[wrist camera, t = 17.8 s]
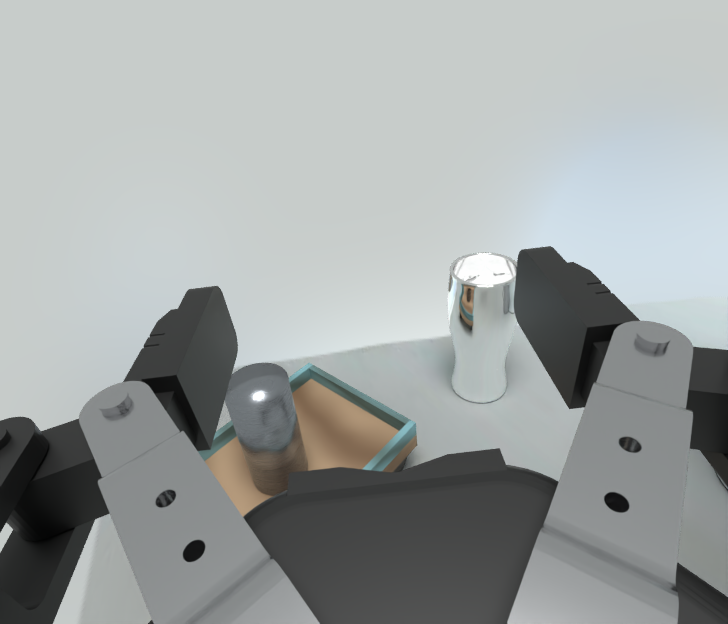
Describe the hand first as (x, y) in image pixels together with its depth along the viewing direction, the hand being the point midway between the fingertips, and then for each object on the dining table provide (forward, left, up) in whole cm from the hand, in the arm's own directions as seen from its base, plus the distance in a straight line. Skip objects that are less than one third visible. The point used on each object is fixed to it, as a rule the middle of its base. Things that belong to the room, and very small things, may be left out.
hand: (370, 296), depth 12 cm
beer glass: (-27, -11, -30) cm, 42 cm away
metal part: (-4, -17, -25) cm, 31 cm away
